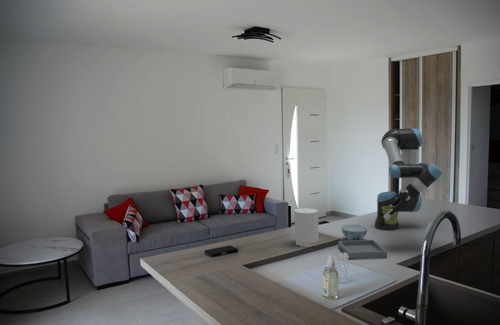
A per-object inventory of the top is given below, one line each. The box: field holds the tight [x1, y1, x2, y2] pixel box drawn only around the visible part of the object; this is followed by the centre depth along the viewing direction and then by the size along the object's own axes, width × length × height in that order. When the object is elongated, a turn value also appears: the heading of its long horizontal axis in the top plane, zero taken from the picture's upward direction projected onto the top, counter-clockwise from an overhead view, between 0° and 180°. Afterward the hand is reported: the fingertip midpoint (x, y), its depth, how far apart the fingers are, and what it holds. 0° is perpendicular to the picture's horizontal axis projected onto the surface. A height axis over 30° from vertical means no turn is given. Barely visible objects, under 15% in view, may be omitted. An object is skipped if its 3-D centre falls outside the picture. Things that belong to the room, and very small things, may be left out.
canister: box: [294, 207, 319, 243], centre depth 225 cm, size 14×14×20 cm
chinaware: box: [341, 224, 369, 241], centre depth 229 cm, size 15×15×8 cm
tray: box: [337, 239, 388, 260], centre depth 208 cm, size 20×20×4 cm
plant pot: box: [382, 206, 399, 224], centre depth 213 cm, size 9×9×9 cm
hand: (384, 216), depth 214 cm, fingers closed on plant pot, 9 cm apart
